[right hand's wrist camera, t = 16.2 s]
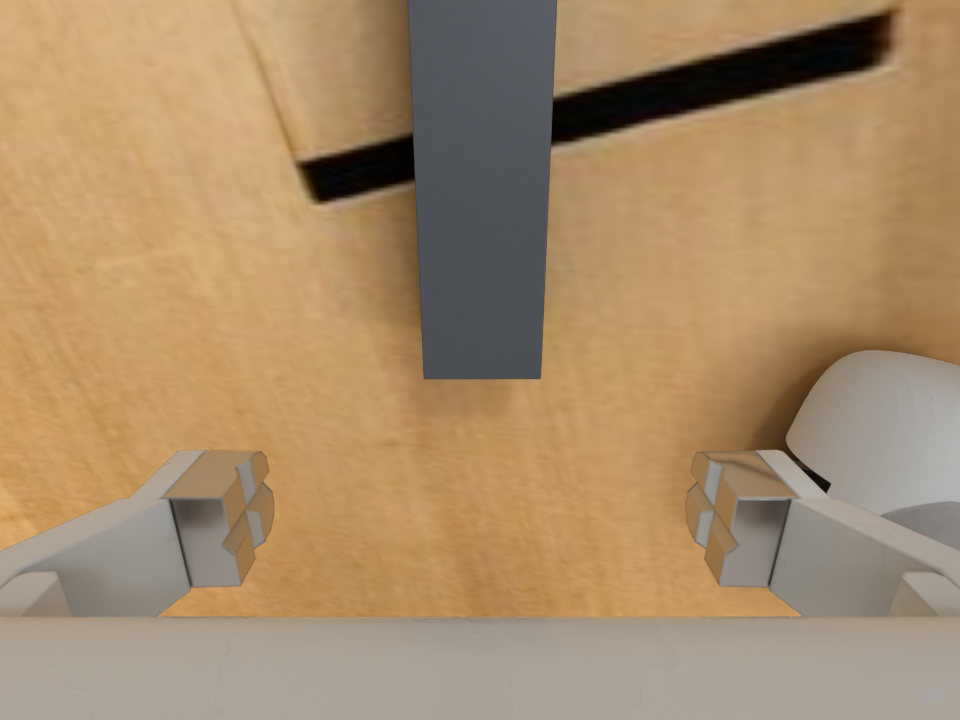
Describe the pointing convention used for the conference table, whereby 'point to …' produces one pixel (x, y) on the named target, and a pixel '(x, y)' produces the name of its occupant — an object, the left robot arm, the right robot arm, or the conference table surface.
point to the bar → (482, 181)
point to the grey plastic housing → (886, 439)
